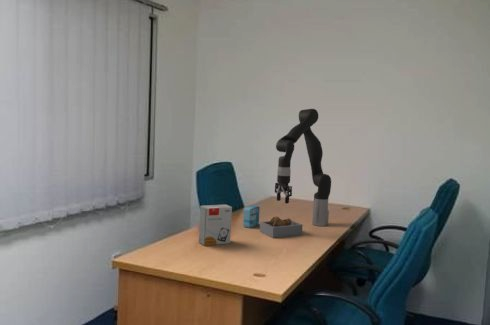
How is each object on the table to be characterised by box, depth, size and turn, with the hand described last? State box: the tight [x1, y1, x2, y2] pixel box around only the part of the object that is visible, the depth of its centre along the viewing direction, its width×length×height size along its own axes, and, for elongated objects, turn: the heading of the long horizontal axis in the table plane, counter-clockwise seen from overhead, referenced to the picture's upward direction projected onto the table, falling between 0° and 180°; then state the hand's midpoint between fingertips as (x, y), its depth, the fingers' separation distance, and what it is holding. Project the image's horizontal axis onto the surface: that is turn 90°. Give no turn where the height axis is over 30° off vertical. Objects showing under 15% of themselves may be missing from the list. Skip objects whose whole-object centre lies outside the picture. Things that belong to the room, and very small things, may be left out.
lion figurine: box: [268, 215, 292, 227], centre depth 272 cm, size 15×5×9 cm, turn 117°
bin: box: [259, 219, 303, 239], centre depth 272 cm, size 20×14×6 cm
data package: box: [242, 205, 261, 229], centre depth 286 cm, size 12×4×12 cm, turn 149°
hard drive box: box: [198, 204, 233, 246], centre depth 246 cm, size 16×8×20 cm, turn 117°
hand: (282, 201), depth 270 cm, fingers open, 8 cm apart
